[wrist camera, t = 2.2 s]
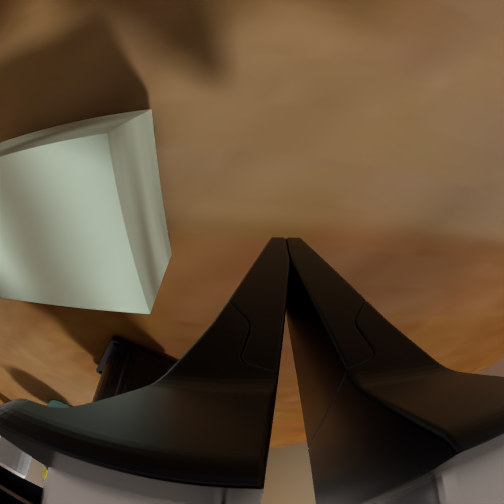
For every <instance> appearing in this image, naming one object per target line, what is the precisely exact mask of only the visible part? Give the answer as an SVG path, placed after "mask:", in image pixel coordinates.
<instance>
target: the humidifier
mask: <svg viewBox="0 0 504 504" xmlns="http://www.w3.org/2000/svg"><path fill="white" fill-rule="evenodd" d="M31 458H32V457H31V456H29V455H28V454H26V453H25V452H23V451H22V450H20V449H19V448H17V447H16V446H15V445H13V444H12V443H10V442H9V441H7V440H6V439H5V438H3V437H2V436H1V438H0V465H1V466H2V467H4V468H6V469H7V470H9V471H11V472H13V473H14V474H16V475H18V476H20V477H22V478H23V479H24V478H25V477H26V474H27V471H28V468H29V465H30V461H31Z"/></svg>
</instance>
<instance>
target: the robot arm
mask: <svg viewBox="0 0 504 504" xmlns="http://www.w3.org/2000/svg"><path fill="white" fill-rule="evenodd" d="M365 301H366V300H365V299H364V298H363V297H362V296H361V295H360V294H359V293H358V292H357V291H356V290H355V289H354V288H353V287H352V286H351V285H350V284H349V283H348V282H347V281H346V280H345V279H344V278H343V277H341V276H340V275H339V274H338V273H337V272H336V271H335V270H334V269H333V268H332V267H331V266H330V265H329V264H328V263H327V262H326V261H325V260H324V259H322V258H321V257H320V256H319V255H318V254H317V253H316V252H315V251H314V250H313V249H312V248H311V247H310V246H308V245H307V244H306V243H305V242H304V241H303V240H302V239H301V238H286V239H285V238H283V237H272V238H271V239H270V240H269V242H268V243H267V245H266V246H265V248H264V249H263V251H262V252H261V254H260V255H259V257H258V258H257V260H256V261H255V262H254V264H253V265H252V267H251V268H250V270H249V271H248V273H247V274H246V276H245V277H244V279H243V280H242V282H241V283H240V285H239V286H238V288H237V289H236V291H235V292H234V294H233V295H232V297H231V298H230V299H229V301H228V303H227V304H226V305H225V307H224V308H223V310H222V311H221V312H220V314H219V315H218V316H217V318H216V319H215V321H214V322H213V323H212V325H211V326H210V327H209V328H208V329H207V330H206V331H205V333H204V334H203V335H202V336H201V337H200V338H199V339H198V340H197V341H196V343H195V344H194V345H193V346H192V347H191V348H190V349H189V350H188V351H187V352H186V353H185V354H184V355H183V356H182V357H181V358H180V360H179V361H178V362H177V363H174V362H172V361H169V360H167V359H165V358H162V357H160V356H158V355H156V354H154V353H151V352H149V351H147V350H145V349H143V348H141V347H138V346H136V345H134V344H132V343H130V342H128V341H126V340H124V339H122V338H120V337H117V336H113V337H112V338H111V340H110V342H109V344H108V346H107V348H106V350H105V352H104V354H103V356H102V358H101V361H100V363H99V365H98V367H97V370H96V371H97V372H98V373H99V374H100V375H101V378H100V380H99V383H98V386H97V389H96V392H95V395H94V398H93V401H92V403H88V404H84V405H80V406H75V407H74V406H72V405H71V407H63V408H59V407H50V406H45V405H42V404H39V403H36V402H33V401H30V400H27V399H16V400H13V401H10V402H7V403H3V404H1V405H0V435H1V436H2V437H3V438H5V439H6V440H7V441H9V442H10V443H12V444H13V445H15V446H16V447H17V448H19V449H20V450H22V451H23V452H25V453H26V454H28V455H29V456H31V457H33V458H34V459H36V460H37V461H39V462H41V463H42V464H44V465H45V467H46V469H47V475H46V479H45V483H44V488H41V487H39V486H37V485H35V484H33V483H31V482H29V481H27V480H25V479H23V478H22V477H20V476H18V475H16V474H14V473H13V472H11V471H9V470H7V469H6V468H4V467H2V466H1V465H0V504H260V502H261V498H262V494H263V489H264V482H265V474H266V466H267V458H268V452H269V445H270V438H271V431H272V423H273V416H274V408H275V400H276V392H277V384H278V376H279V368H280V359H281V351H282V342H283V333H284V323H285V314H286V315H287V321H288V327H289V333H290V339H291V344H292V350H293V356H294V362H295V368H296V374H297V380H298V386H299V392H300V399H301V405H302V411H303V418H304V424H305V431H306V437H307V444H308V448H309V449H308V451H309V457H310V464H311V471H312V478H313V485H314V492H315V500H316V504H504V377H499V376H489V375H480V374H471V373H463V372H457V371H454V370H451V369H448V368H446V367H444V366H443V365H441V364H439V363H438V362H437V361H435V360H434V359H433V358H432V357H431V356H429V355H428V354H427V353H426V352H424V351H423V350H422V349H421V348H420V347H418V346H417V345H416V344H415V343H414V342H412V341H411V340H410V339H409V338H407V337H406V336H405V335H404V334H403V333H401V332H400V331H399V330H398V329H397V328H396V327H394V326H393V325H392V324H391V323H390V322H388V321H387V320H386V319H385V318H384V317H383V316H382V315H381V314H380V313H379V312H378V311H377V310H376V309H375V308H374V307H373V306H372V305H371V304H370V303H368V302H367V301H366V302H365Z"/></svg>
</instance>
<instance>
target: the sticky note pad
mask: <svg viewBox="0 0 504 504" xmlns="http://www.w3.org/2000/svg"><path fill="white" fill-rule="evenodd" d="M154 132H155V129H154V125H153V118H152V109H148V110H140V111H133V112H126V113H119V114H113V115H107V116H102V117H96V118H91V119H86V120H81V121H77V122H72V123H68V124H63V125H59V126H55V127H51V128H47V129H43V130H40V131H36V132H32V133H29V134H25V135H22V136H19V137H16V138H12V139H9V140H6V141H3V142H1V143H0V296H1V297H2V298H8V299H14V300H21V301H28V302H35V303H42V304H50V305H58V306H66V307H75V308H85V309H95V310H105V311H116V312H129V313H142V314H150V313H151V310H152V307H153V304H154V301H155V298H156V296H157V293H158V290H159V287H160V284H161V282H162V279H163V276H164V273H165V271H166V268H167V265H168V263H169V260H170V257H171V255H172V253H171V248H170V242H169V233H168V231H167V225H166V219H165V212H164V206H163V199H162V193H161V186H160V179H159V171H158V163H157V155H156V147H155V138H154Z"/></svg>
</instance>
